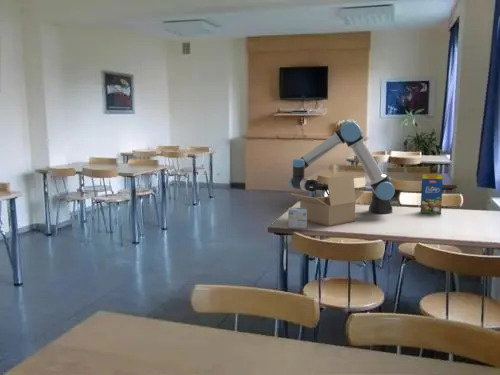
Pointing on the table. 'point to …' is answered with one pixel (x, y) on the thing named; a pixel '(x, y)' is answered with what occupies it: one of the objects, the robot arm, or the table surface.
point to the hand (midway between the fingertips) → (336, 189)
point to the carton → (328, 210)
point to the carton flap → (341, 190)
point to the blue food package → (431, 194)
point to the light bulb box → (297, 218)
